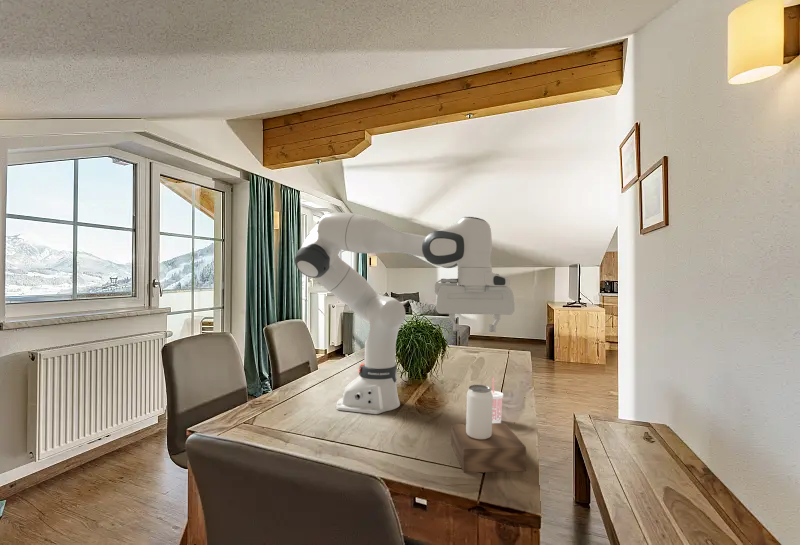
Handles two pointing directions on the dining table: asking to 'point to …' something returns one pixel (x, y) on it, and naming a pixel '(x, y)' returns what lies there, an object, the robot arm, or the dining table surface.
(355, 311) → the robot arm
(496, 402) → the beverage cup
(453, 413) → the dining table surface
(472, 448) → the riser block
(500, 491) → the dining table surface
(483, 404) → the can
